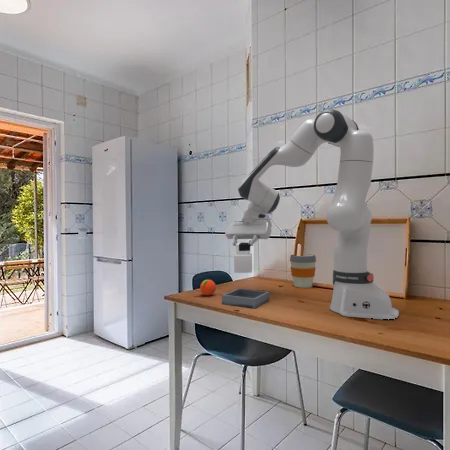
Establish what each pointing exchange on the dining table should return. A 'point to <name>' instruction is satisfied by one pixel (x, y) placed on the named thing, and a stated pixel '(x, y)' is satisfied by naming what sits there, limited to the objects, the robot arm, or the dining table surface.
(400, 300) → the dining table surface
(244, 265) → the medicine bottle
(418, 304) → the dining table surface
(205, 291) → the clementine
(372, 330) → the dining table surface
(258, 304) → the tray
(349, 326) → the dining table surface
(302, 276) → the reusable coffee cup
